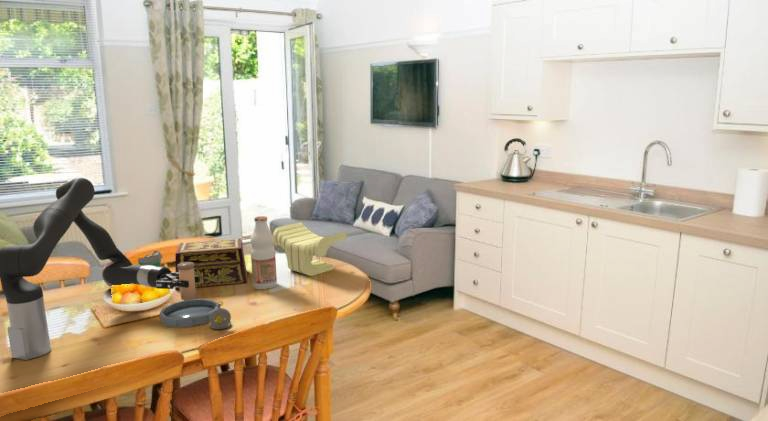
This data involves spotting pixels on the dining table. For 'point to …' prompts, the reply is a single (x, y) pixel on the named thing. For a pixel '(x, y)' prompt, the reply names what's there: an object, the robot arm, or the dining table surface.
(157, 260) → the food container
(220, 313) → the grey rounded piece
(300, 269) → the slatted curved stool
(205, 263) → the decorative box
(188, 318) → the round tray
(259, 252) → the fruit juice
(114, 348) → the dining table surface
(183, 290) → the spice jar
